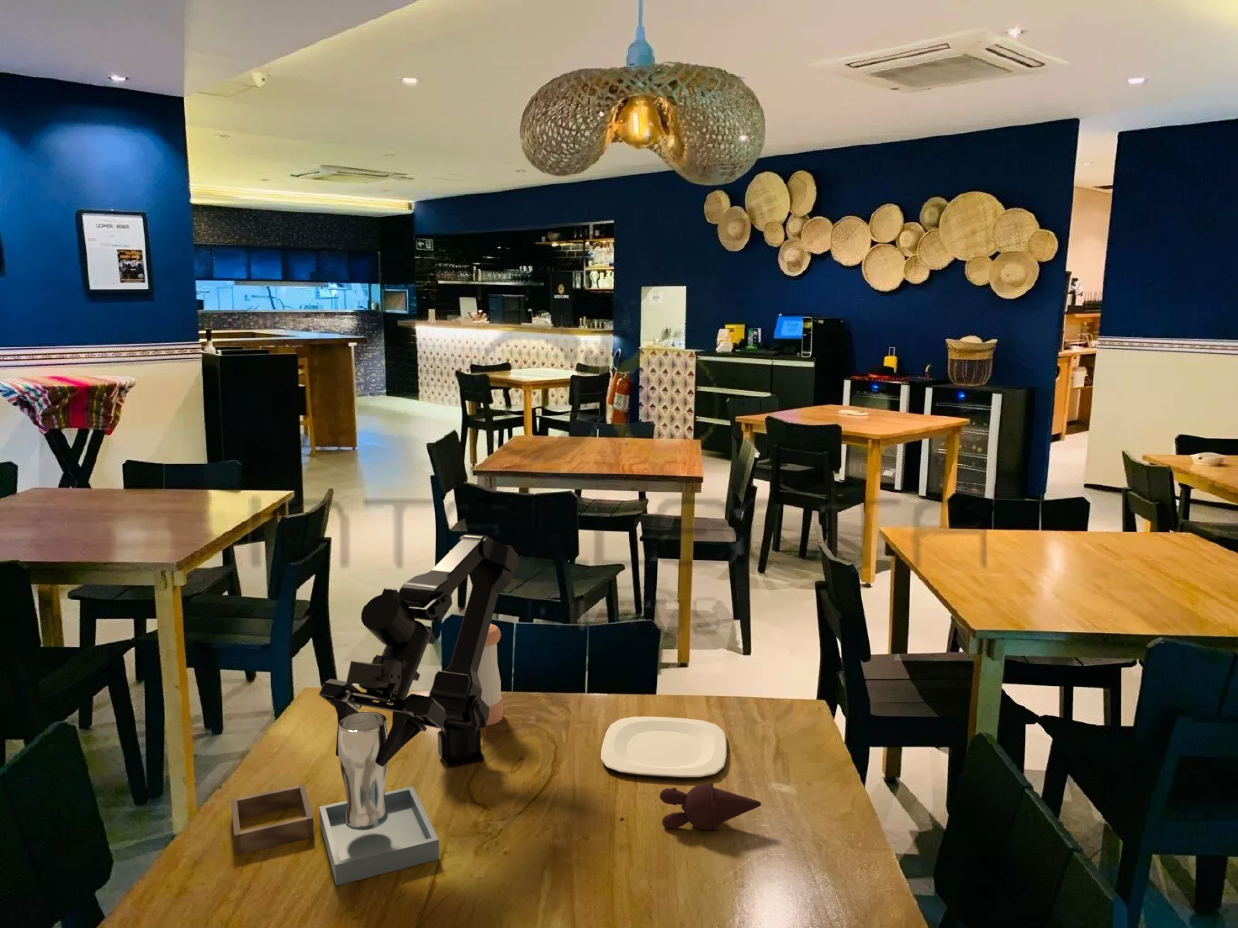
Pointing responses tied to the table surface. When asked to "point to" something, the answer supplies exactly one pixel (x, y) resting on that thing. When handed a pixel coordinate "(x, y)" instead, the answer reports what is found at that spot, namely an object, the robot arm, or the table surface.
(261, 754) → the table surface
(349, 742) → the silver metal cup
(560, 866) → the table surface
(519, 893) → the table surface
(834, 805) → the table surface
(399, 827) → the tray
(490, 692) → the salt shaker
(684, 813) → the icecream
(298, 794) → the rectangular frame
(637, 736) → the plate
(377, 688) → the robot arm
